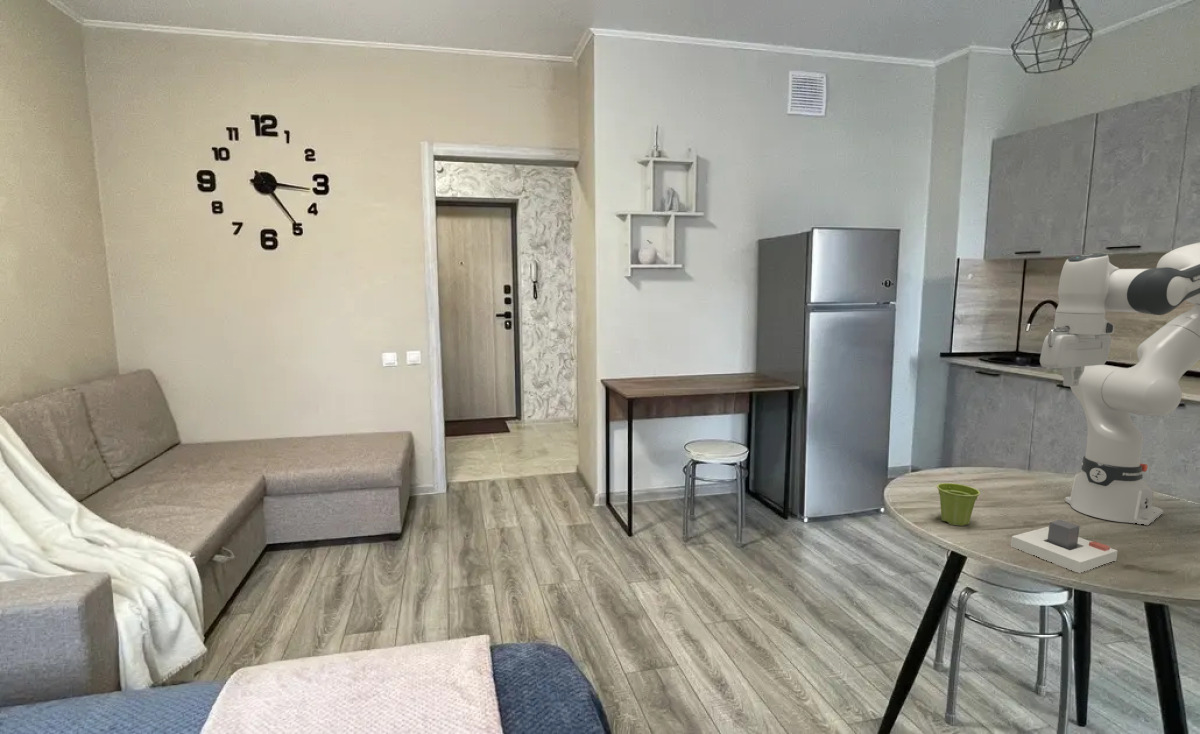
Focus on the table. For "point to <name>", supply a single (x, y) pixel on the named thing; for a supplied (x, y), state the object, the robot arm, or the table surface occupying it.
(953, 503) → the plant pot
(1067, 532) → the plug
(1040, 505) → the table surface
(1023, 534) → the socket plate
